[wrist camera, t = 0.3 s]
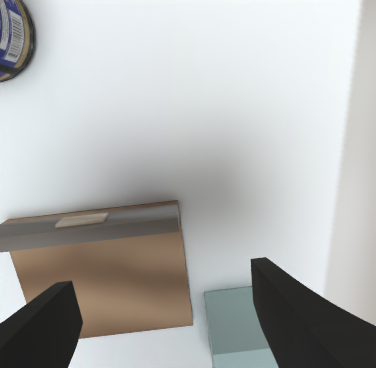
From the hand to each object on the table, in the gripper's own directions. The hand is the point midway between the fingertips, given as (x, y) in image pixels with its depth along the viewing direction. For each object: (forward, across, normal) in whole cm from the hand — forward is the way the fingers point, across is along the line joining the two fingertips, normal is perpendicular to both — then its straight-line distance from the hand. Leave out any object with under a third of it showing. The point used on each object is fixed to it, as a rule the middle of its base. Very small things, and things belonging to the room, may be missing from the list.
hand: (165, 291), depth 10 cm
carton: (+10, -4, +11) cm, 15 cm away
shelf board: (+10, +6, +5) cm, 13 cm away
